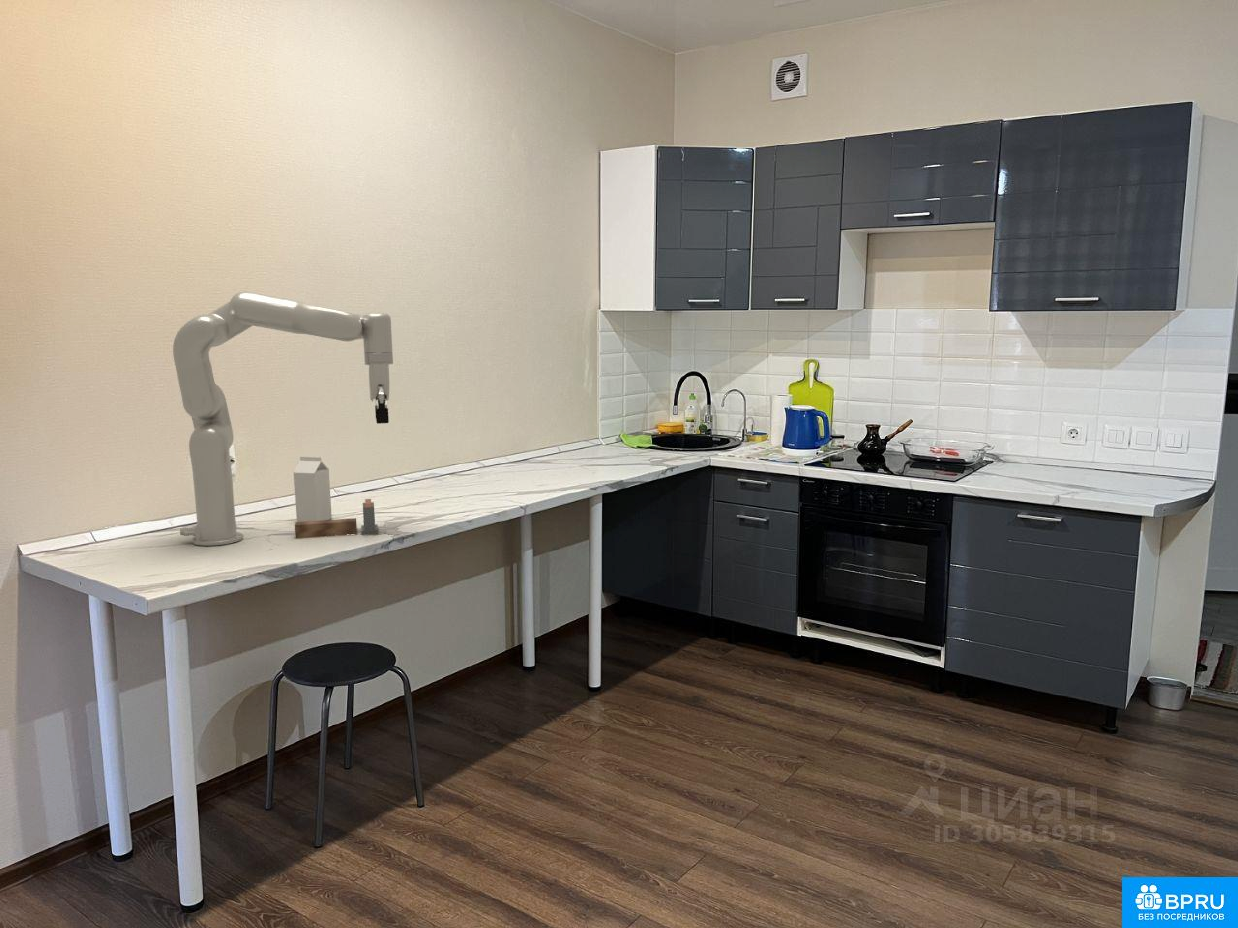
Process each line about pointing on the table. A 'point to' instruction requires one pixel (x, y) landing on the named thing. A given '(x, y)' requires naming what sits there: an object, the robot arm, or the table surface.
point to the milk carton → (312, 490)
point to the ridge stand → (369, 518)
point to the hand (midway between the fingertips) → (382, 421)
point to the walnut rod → (325, 528)
